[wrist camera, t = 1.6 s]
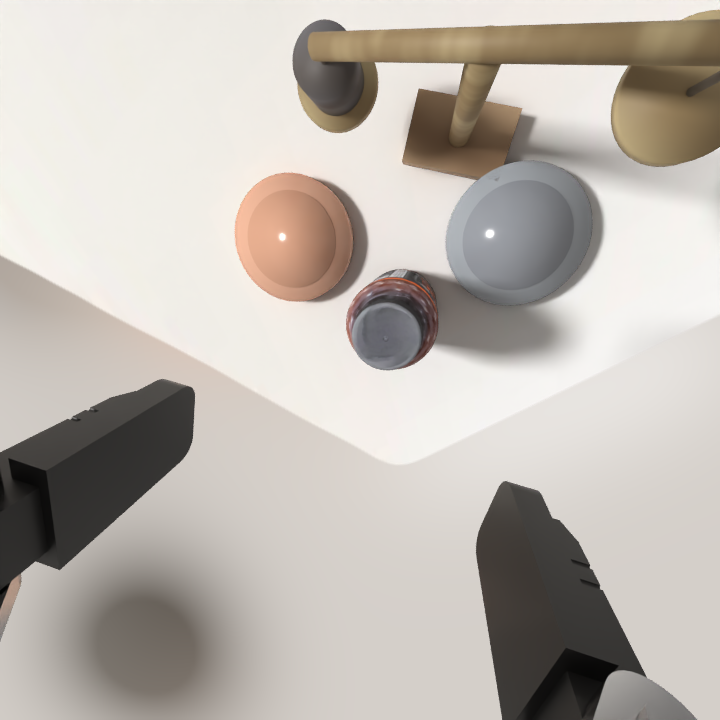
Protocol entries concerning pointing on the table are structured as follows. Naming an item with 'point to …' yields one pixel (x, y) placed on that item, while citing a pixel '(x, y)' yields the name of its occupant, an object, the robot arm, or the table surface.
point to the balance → (522, 46)
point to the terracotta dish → (293, 237)
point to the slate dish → (519, 233)
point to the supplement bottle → (393, 320)
